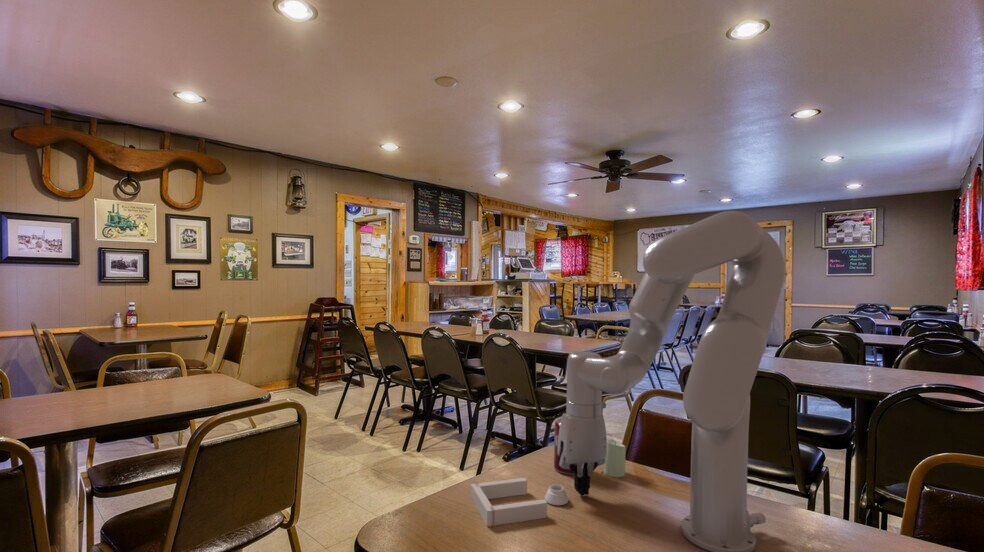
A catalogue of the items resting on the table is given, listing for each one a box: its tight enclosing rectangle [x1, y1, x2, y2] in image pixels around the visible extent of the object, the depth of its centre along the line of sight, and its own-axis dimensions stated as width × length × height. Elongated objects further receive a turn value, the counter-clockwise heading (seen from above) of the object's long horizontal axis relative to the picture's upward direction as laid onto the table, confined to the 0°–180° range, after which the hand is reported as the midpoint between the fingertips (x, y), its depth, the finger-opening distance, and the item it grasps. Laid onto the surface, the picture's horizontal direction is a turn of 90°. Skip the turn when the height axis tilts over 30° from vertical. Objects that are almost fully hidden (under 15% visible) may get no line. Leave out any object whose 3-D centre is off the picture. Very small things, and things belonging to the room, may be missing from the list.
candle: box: [603, 439, 627, 479], centre depth 115 cm, size 5×5×8 cm
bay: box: [470, 477, 548, 527], centre depth 97 cm, size 12×12×3 cm
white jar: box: [544, 484, 570, 506], centre depth 101 cm, size 5×3×5 cm
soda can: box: [553, 417, 583, 476], centre depth 117 cm, size 7×7×12 cm
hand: (581, 492), depth 103 cm, fingers closed
